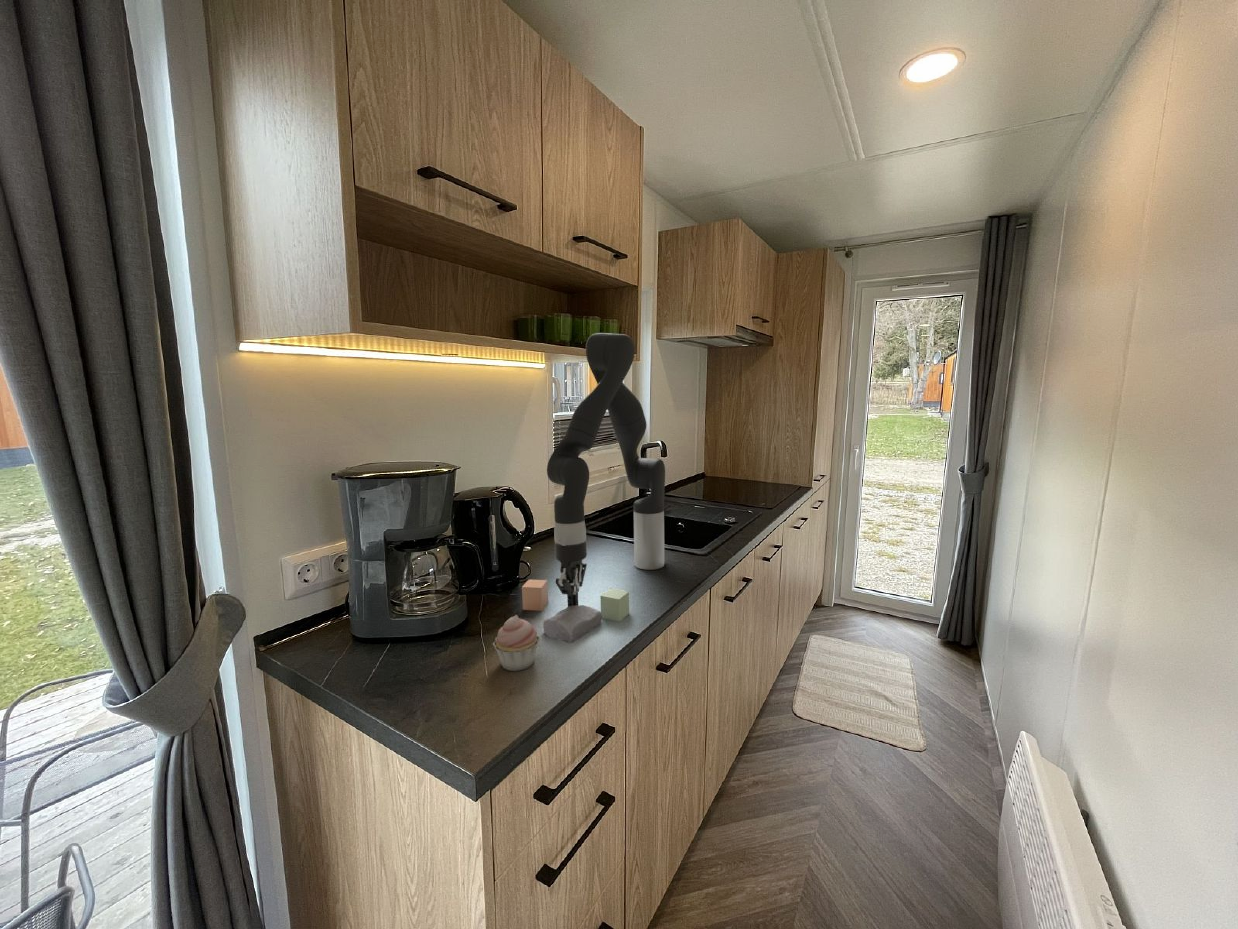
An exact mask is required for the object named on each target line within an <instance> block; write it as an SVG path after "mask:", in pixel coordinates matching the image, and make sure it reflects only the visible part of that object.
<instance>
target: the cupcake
mask: <svg viewBox="0 0 1238 929" xmlns="http://www.w3.org/2000/svg"><path fill="white" fill-rule="evenodd" d="M541 639H542V638H541V636H539V635H538V632H537V629H536V627H534V626H533V625H532V624H531V623H530V622H529V621H527V620H526V619H522V618H519V616H518V614H515V615H514V616H510V618H508V619H507V620H506V621H505V622H504V624H503V626H501V627H500V629H499V630H498V632H497V637H495V641H494V642H493V643H492V645H493V647H494V649H495V651H496V652H497V655H498V658H499V661H500V664H501V666H502V668H503V669H505V670H506V671H509V672H511V671H512V672H518V671H523V670H527V669H528V668H530V667H531V666H532V665H533V664H534V661H535V656H536V652H537V651H536V650H537V648H538V645H539V644H540V640H541Z"/></svg>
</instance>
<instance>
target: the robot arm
mask: <svg viewBox="0 0 1238 929" xmlns="http://www.w3.org/2000/svg"><path fill="white" fill-rule="evenodd" d="M635 351H636V349H635V343H634V340H633V339H632V337H630V336H629V335H627V334H623V333H608V332H607V333H606V332H597V333H593V334H591V335H590V336H589V337H588V339H587V340H586V344H585V356H586V360H587V363H588V366H589V369H590V370H591V373H592V375H593V377H594V379H595V382H596V384H597V385H596V386H595V387H594V389H593V390H592V391H590V393H589V394H587V396H586V397H585V398H583V400H581V402H580V403H579V404H578V405H577V407H576V408H575V410H574V412H573V414H572V416H571V418H570V422H569V424H568V427H567V429H566V431H565V434H564V436H563V438H562V439H561V440H560V442H559V443H558V445H557V446H556V447H555V449H554V451H552V454H551V455H550V457H549V459H548V462H547V466H546V474H547V477H548V479H549V480H550V481H551V482H552V483H553V484H555V485H561V486H564V488H563V492H562V495H559V496H557V497H556V498H555V499H554V503H553V504H554V505H553V507H554V509H553V510H554V513H553V514H554V526H553V527H554V528H553V529H554V530H553V533H554V556H555V557H554V558H555V560H557V561H559V562H560V568H559V571H560V576H559V578H558V577H557V578H556V579H555V584H556V586H557V587H558V590H560V593H561V594H562V595H567V596H566V597H567V607H569V606H575V605H578V606H579V592H580V588H581V587H582V586H583V584H584V579H585V575H586V570H587V563H584V562H583V560H585V559H586V558H587V556H588V554H587V528H586V523H585V504H584V503H585V500H586V496H587V490H588V487H589V480H590V468H589V465H588V464H587V461H585V459H583V458H581V457H579V456H580V455H581V454H582V453H583V452H586V451H589V450H591V449H592V447H593V446H594V443H595V441H596V438H597V435H598V434H599V430H600V427H601V424H602V422H603V419H604V417H605V414H606V412H607V411H608V414H609V418H610V422H611V425H612V428H613V431H614V434H615V436H616V439H617V442H618V446H619V448H620V451H621V456H622V460H623V464H624V468H625V473H626V477H627V481H628V483H629V484H630V486H631V487H632V488H634V489H644V490H650V493H649V495H648V496H646V497H642V498H639V499H637V500H635V501H634V502H633V507H632V508H633V550H634V551H633V552H634V553H633V554H634V556H633V557H634V559H633V560H634V567H636V568H638V569H642V570H651V571H652V570H658V569H662V568H663V567H664V566H665V511H664V510H665V506H664V505H665V489H666V488H665V486H666V485H665V483H666V466H665V462H664V461H663V460H662V458H661V459H660V458H650V457H647V458H645V457H640V456H639V455H638V448H639V446H640V443H641V441H642V439H643V438H644V435H645V433H646V430H647V419H646V417H645V413H644V409H643V407H642V404H641V402H640V400H639V399H638V398H637V396H636V395H635V394H634V393H633V392H632V391H631V390H630V388H628V386H626V384H625V383H624V380H625V379H626V376H627V375H628V374H629V372H630V369H631V367H632V364H633V361H634V359H635V353H636V352H635Z"/></svg>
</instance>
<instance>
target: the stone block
mask: <svg viewBox="0 0 1238 929" xmlns="http://www.w3.org/2000/svg"><path fill="white" fill-rule="evenodd" d="M602 620H603V618H602V615H601V610H597V609H595V608H593V607H590V606H587V605H584V604H580V605H579V604H578V605H575V606H569V607H568V606H567V607H566V608H564V609H561V610H560V611H558V612H557V613H556V614H555V615H553V616H551V617H549V618H546V619H544V620H543V625H542V626H543V628H542V629H543V632H544V634H545V635H546V636H547V637H549V638H551V639H552V638H553V639H557V640H560V641H565V642H568V643H574V642H575V641H577V640H578V639H580V638H581V637H583V636H584V635H586V634H588V633H589V632H590V631H592V630H594V629H595V628H597V627H598V626H599V625H600V624H601V623H602Z"/></svg>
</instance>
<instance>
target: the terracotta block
mask: <svg viewBox="0 0 1238 929" xmlns="http://www.w3.org/2000/svg"><path fill="white" fill-rule="evenodd" d="M548 582H549V581H548V580H547V579H528V580H527V581H526V582H525V583H524V584H523V585H522V587H521V594H522V596H521V597H522V610H523V611H538V612H540V611H541V612H543V610H544V609H545V608H546V607H547V605H548V604H549V587H548V586H549V583H548Z"/></svg>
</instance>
